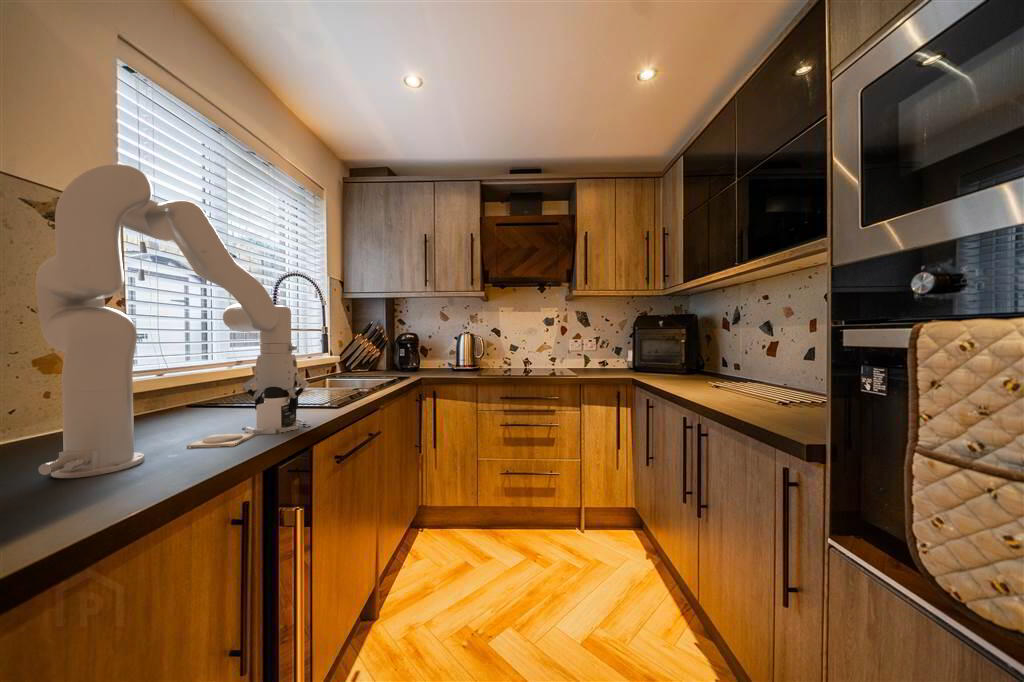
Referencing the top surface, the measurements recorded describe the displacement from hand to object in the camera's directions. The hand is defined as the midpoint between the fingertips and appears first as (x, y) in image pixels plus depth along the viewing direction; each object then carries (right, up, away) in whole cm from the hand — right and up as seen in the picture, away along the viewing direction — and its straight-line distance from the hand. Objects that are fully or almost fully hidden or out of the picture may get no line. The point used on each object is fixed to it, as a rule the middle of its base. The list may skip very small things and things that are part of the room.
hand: (277, 411), depth 109 cm
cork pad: (-5, -5, -14) cm, 15 cm away
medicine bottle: (0, -5, 0) cm, 5 cm away
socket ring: (0, -4, 0) cm, 4 cm away
